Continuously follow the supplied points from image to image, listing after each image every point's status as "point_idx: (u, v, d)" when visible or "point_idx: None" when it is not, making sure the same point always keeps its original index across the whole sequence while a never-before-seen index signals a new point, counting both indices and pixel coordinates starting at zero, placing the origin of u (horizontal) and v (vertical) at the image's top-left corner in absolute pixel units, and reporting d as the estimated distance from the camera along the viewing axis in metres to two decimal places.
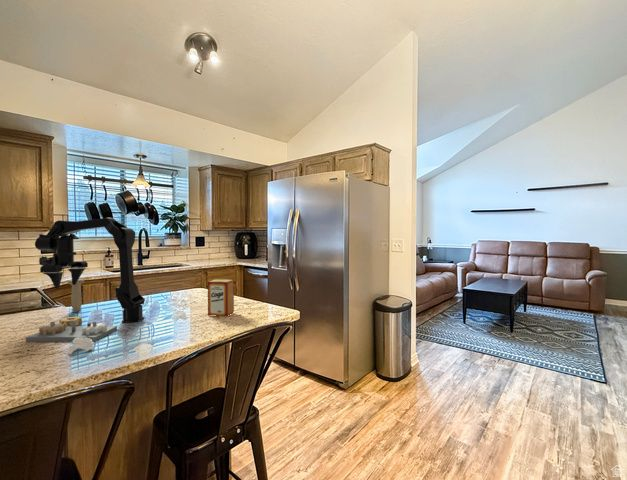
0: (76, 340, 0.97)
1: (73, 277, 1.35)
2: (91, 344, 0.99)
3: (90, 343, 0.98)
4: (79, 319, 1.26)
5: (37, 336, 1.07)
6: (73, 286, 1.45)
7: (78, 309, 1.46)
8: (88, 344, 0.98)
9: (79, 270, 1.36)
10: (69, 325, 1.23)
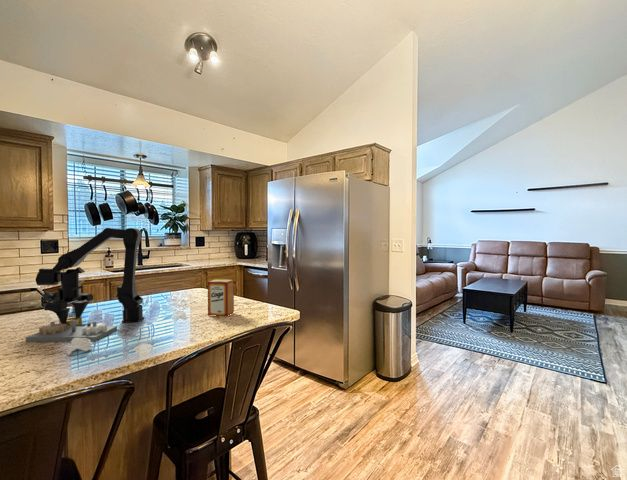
0: (74, 340, 0.97)
1: (76, 312, 1.29)
2: (90, 344, 0.98)
3: (89, 343, 0.98)
4: (79, 319, 1.26)
5: (37, 336, 1.07)
6: None
7: None
8: (87, 344, 0.98)
9: (83, 304, 1.29)
10: (69, 325, 1.23)
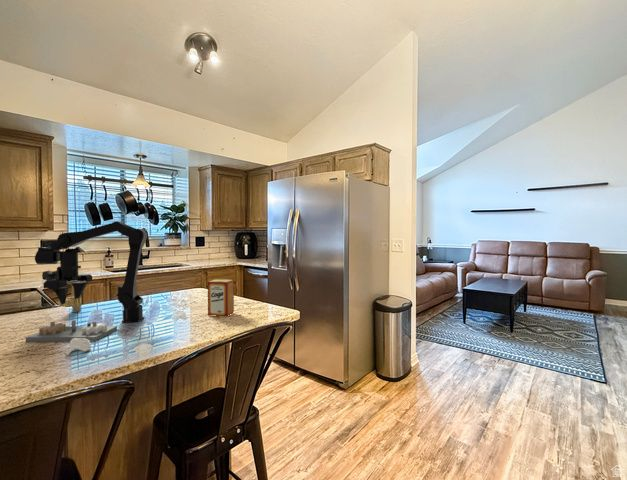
0: (73, 341, 0.96)
1: (76, 292, 1.29)
2: (89, 345, 0.98)
3: (88, 344, 0.98)
4: (78, 299, 1.26)
5: (37, 336, 1.07)
6: None
7: (78, 309, 1.46)
8: (86, 345, 0.97)
9: (82, 284, 1.29)
10: (68, 304, 1.22)
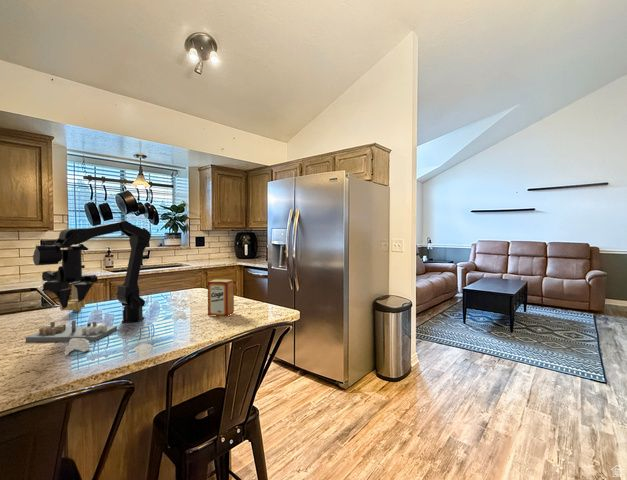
0: (72, 341, 0.96)
1: (79, 294, 1.16)
2: (87, 345, 0.98)
3: (86, 344, 0.98)
4: (82, 302, 1.13)
5: (37, 336, 1.07)
6: (73, 286, 1.45)
7: (78, 309, 1.46)
8: (84, 345, 0.97)
9: (86, 286, 1.17)
10: (70, 308, 1.10)
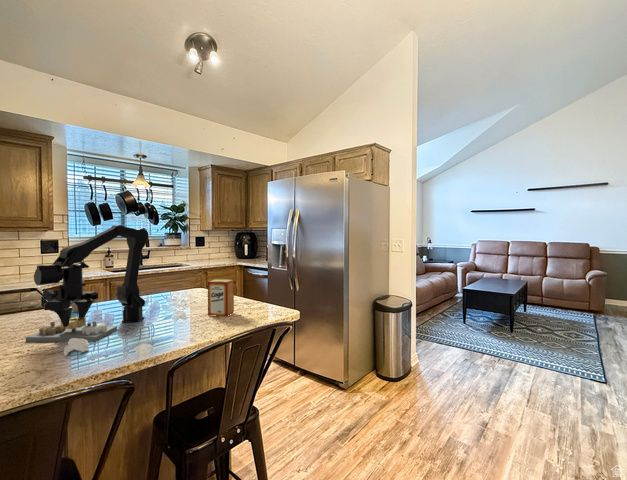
0: (71, 341, 0.96)
1: (80, 312, 1.16)
2: (86, 345, 0.98)
3: (85, 344, 0.97)
4: (83, 320, 1.13)
5: (37, 336, 1.07)
6: None
7: None
8: (83, 345, 0.97)
9: (87, 303, 1.17)
10: (72, 327, 1.10)
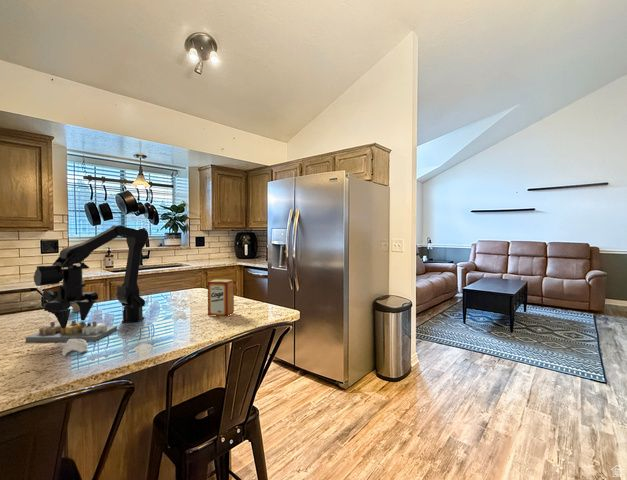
0: (70, 341, 0.96)
1: (82, 312, 1.17)
2: (85, 345, 0.98)
3: (84, 344, 0.97)
4: (83, 325, 1.13)
5: (37, 336, 1.07)
6: None
7: (78, 309, 1.46)
8: (82, 345, 0.97)
9: (89, 303, 1.17)
10: (72, 332, 1.10)
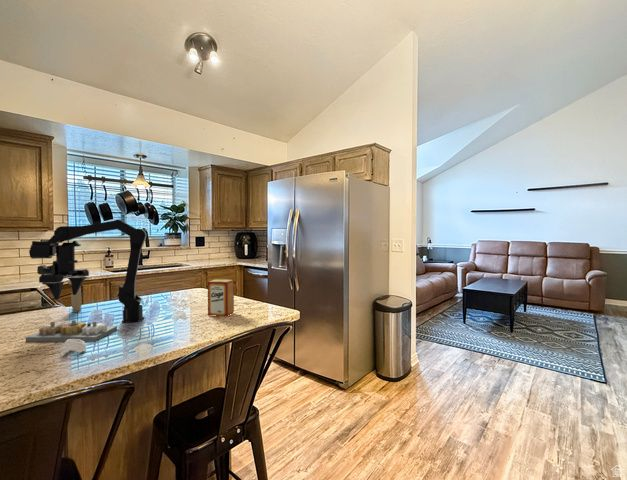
0: (68, 342, 0.95)
1: (73, 286, 1.26)
2: (84, 346, 0.97)
3: (83, 345, 0.97)
4: (83, 325, 1.13)
5: (37, 336, 1.07)
6: None
7: (78, 309, 1.46)
8: (80, 346, 0.96)
9: (80, 279, 1.27)
10: (72, 332, 1.10)
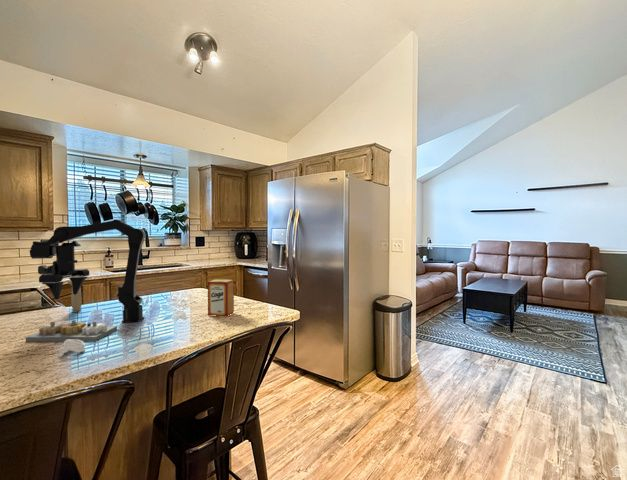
0: (67, 342, 0.95)
1: (74, 286, 1.28)
2: (82, 346, 0.97)
3: (81, 345, 0.97)
4: (83, 325, 1.13)
5: (37, 336, 1.07)
6: None
7: (78, 309, 1.46)
8: (79, 346, 0.96)
9: (80, 279, 1.28)
10: (72, 332, 1.10)
